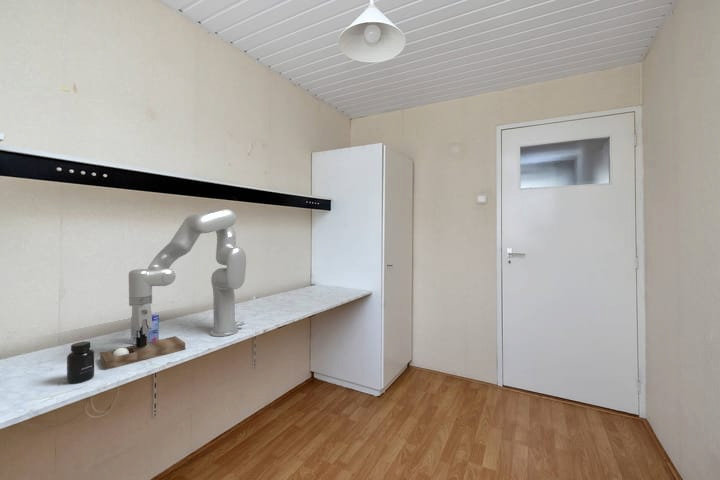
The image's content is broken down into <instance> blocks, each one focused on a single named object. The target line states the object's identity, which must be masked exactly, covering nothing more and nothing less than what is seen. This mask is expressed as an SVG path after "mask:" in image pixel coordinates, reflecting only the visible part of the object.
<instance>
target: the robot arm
mask: <svg viewBox="0 0 720 480" xmlns="http://www.w3.org/2000/svg"><path fill="white" fill-rule="evenodd" d="M236 222H237V216H236V213H235V212H234V211H233V210H231V209H229V208H225V209H223V208H222V209H220V208H219V209H212V210H209V211H208V212H207V213H198V214H191V215H188V216H187V217H186V218H185V219H184V220H183V222H182V223H181V225H180V226H179V228H178V229H177V231H176V233H175V234H174V236H173V237H172V239H170V241H169V243H168V244H166V245H165V246H164V247H163V248H162V249H161V250H160V251H159V252H158V253H157V254H156V256H155V257H154V258H153V260H152V261H151V262H150V263H149V265H148V267H147V268H139V269H138V268H137V269H132V270H130V271H129V272H128V306H129V307H131V317H132V326H133V328H135V329H136V344H135V345H136V347H137V348H140V347H144V346H147V327H148V328H149V329H152V315H153V314H152V313H153V312H152V307H151V304H153V287H166V286H169V285H171V284H173V283H174V281H176V276H177V275H176V273H175V271H174V270H173V269H171V268H170V267H171V266H172V265H173V263H175V262H176V261H177V260H178V259H179V258H181V257H184V256H185V255H187V254H188V253H189V252H191V251H192V248H193V247H194V245H195V244H196V242H197V240H198V239H199V237H200V235H201V234H209V233H214V232H215V233H216V249H215V250H216V251H215V260H216V262H217V263H218V264H220V265H222V266H226V267H220V268H217V269H215V270H214V271H213V272H212V274H211V277H210V279H211V281H210V283H211V287H212V294H213V329H211V330H210V331H209V334H210V336H213V337H227V336H232V335H234V334H236V333H238V332H239V327H241V326H245V321H244V320H243V321H236V319H235V318H236V316H235V315H236V313H235V311H236V305H235V304H236V301H235V300H236V297H235V296H236V295H235V290H238V289H241V287H243V284H244V282H245V279H246V267H247V265H246V264H247V255H246V252H245V250H244V249H243V248H241V246H237V245H236V242H237V241H236V240H237V239H236V238H237V236H236V231H235V229H234V227H233V225H235V223H236ZM137 336H138V337H137Z"/></svg>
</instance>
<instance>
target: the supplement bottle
mask: <svg viewBox="0 0 720 480" xmlns="http://www.w3.org/2000/svg"><path fill="white" fill-rule="evenodd" d="M94 376H95V351H94V350H93V349H92V347H91V342H90V341H79V342H75V343H72V344H71V345H70V353H69V354H67V356H66V382H67V383H68V384H80V383H84V382H87V381H89V380H91V379H93V378H94Z"/></svg>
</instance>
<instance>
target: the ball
mask: <svg viewBox="0 0 720 480" xmlns="http://www.w3.org/2000/svg"><path fill="white" fill-rule="evenodd" d="M116 349H117V350H115V349H114V350H115V351H114V353H113V356H114V357H117V356H121V355H125V354H129V351H128V349H126V348H124V347H119V348H116Z"/></svg>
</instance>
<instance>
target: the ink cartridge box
mask: <svg viewBox="0 0 720 480" xmlns="http://www.w3.org/2000/svg"><path fill="white" fill-rule="evenodd" d="M130 317H131V318H130V320H131V321H130V344H131V345H136V329H135V328H133V326H132V316H130ZM159 320H160V317H159V314H152V329H149V328H148V327H147V342H151V341H156V340H160V339H159V338H160V334H159V333H160V330H159V329H160V327H159V326H160V325H159V323H160V321H159ZM137 337H138V336H137Z"/></svg>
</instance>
